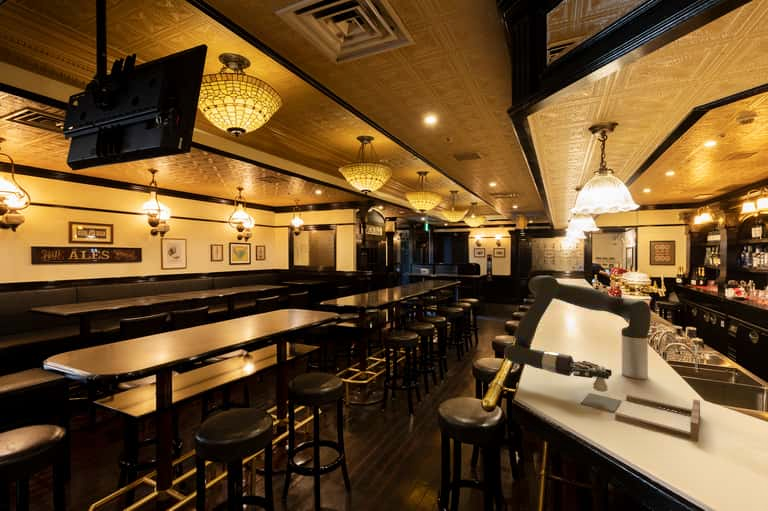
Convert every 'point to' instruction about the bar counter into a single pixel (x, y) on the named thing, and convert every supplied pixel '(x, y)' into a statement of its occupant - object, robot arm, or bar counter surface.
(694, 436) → the walnut lane
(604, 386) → the rook chess piece
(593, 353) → the bar counter surface
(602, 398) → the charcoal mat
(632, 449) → the bar counter surface
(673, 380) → the bar counter surface
